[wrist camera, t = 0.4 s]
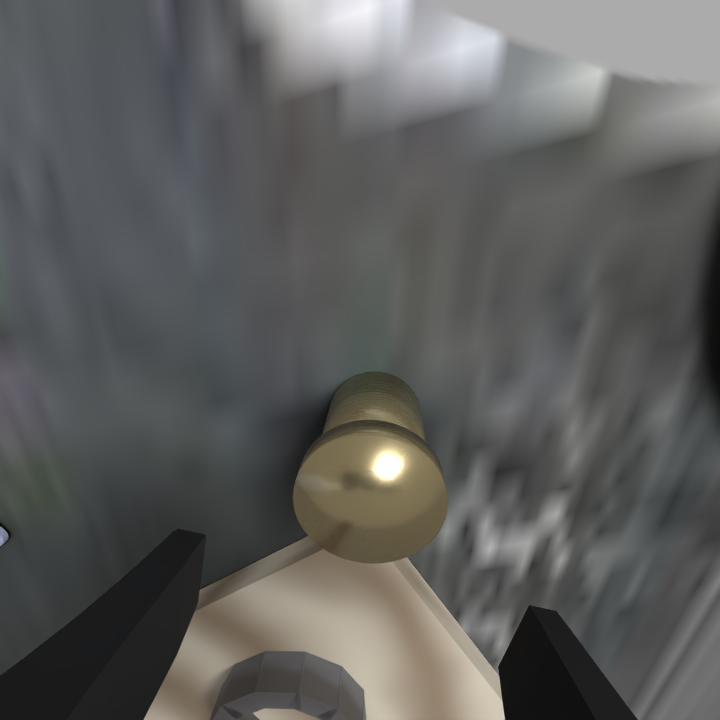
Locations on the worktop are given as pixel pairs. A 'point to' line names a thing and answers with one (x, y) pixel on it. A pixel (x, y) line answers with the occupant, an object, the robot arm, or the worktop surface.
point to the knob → (371, 475)
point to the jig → (325, 647)
